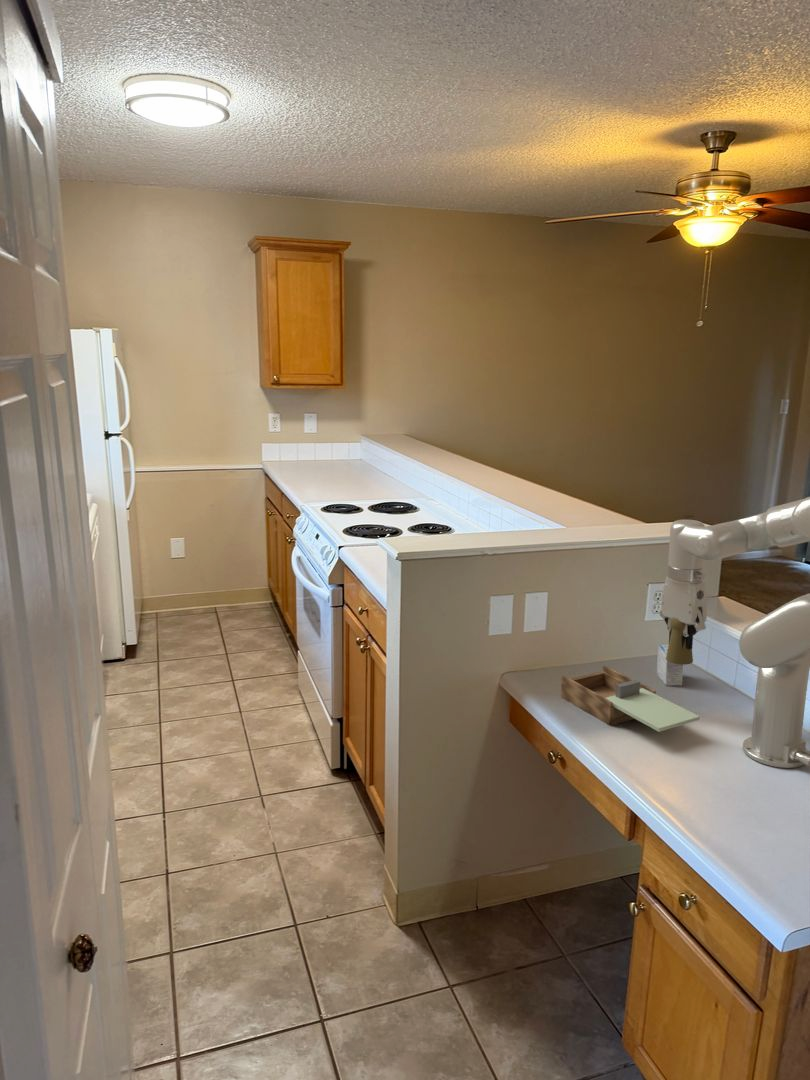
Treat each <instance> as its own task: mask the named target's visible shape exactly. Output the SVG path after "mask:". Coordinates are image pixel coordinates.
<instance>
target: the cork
mask: <svg viewBox="0 0 810 1080" xmlns="http://www.w3.org/2000/svg"><path fill="white" fill-rule="evenodd" d="M670 625H671V627H672V631H671V637H670V641H669V640H668V645H669V646H668V651H667V656H666V660H667V661H669V662H671V663H674V664H681V665H683V666H685V665H691V664H692V663H693V662H694V658H693V657H694V656H693V647H692V648H691V649H689V650H688V649H687V648H686V638H685V641H684V645H683V649H682V640H681V636H684V635H683V631H684V629H685V624H684V623H682V622H680V621H679V620H678V619H676V618H671V619H670ZM692 626H693V625H691V626H689V629H690V628H691V627H692Z"/></svg>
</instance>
